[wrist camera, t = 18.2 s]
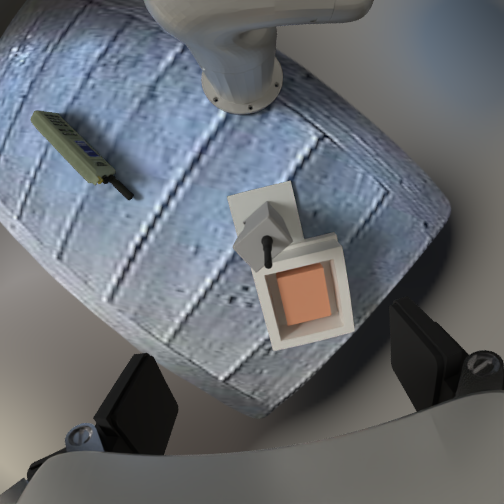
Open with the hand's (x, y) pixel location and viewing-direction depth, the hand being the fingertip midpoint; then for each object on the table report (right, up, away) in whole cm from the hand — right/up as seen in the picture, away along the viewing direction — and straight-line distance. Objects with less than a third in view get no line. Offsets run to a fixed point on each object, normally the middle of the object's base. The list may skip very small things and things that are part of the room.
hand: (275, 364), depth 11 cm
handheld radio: (-30, +22, +35) cm, 51 cm away
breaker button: (+7, -2, +37) cm, 37 cm away
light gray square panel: (+1, +9, +36) cm, 38 cm away
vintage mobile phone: (+1, +9, +36) cm, 37 cm away
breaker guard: (+7, -1, +39) cm, 40 cm away
